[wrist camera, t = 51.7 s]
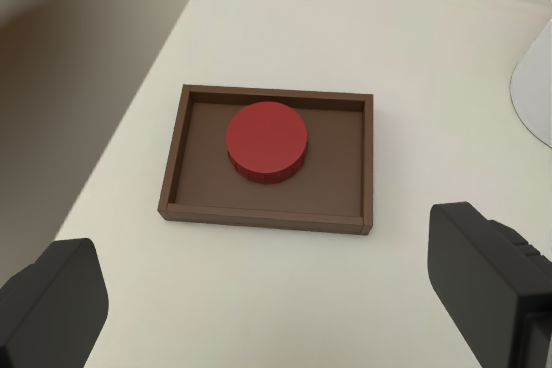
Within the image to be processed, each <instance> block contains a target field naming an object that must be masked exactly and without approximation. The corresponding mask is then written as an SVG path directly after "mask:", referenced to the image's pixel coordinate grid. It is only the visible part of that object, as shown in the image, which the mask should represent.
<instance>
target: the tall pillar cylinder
mask: <svg viewBox="0 0 552 368" xmlns="http://www.w3.org/2000/svg"><path fill="white" fill-rule="evenodd" d="M510 90H511V98H512V102H513V105H514V108H515V110H516V112H517V114H518V116H519V117H520V119H521V120H522V122H523V123H524V124H525V126H526V127H527V128H528V129H529V130H530V131H531V132H532V133H533V134H534V135H535V136H536V137H537V138H539V139H540V140H541V141H542V142H544V143H545V144H547V145H548V146H550V147H552V17H551V18H550V20H549V21H548V23H547V24H546V25H545V27H544V28H543V29H542V31H541V32H540V34H539V35H538V36H537V38H536V39H535V41H534V42H533V43H532V45H531V46H530V47H529V49H528V50H527V52H526V53H525V54H524V56H523V57H522V59H521V60H520V61H519V63H518V64H517V66H516V68H515V70H514V72H513V75H512V78H511V86H510Z"/></svg>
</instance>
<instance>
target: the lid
mask: <svg viewBox="0 0 552 368" xmlns="http://www.w3.org/2000/svg"><path fill="white" fill-rule="evenodd" d="M226 145H227V149H228V150H227V153H228V156H229V160H230V159H231V162H232V164H233V166H234V167H235V170H236V172H237V171H238V172H239V173H240V174H241V175H242V176H243V177H245V178H247V179H248V181H249V180H251V181H254V182H257V183H263V184H271V183H277V182H279V183H280V181H283V180H285V179H287V178H289V177H291V176H292V175H293V176H294V174H295V173H296V172H297V171H298V170H299V168H300V167H301V166H302V164H304V159H305V157H306V151H308V141H307V130H306V126H305V123H304V121H303V120H302V118H301V117H300V116H299V114H298V113H297V112H296V111H294V110H293V109H292V108H290V107H288V106H286V105H284V104H281V103H277V102H269V101H267V102H258V103H254V104H251V105H249V106H247V107H245V108H243V109H242V110H240V111H239V112H238V113H237V114H236V115H235V116H234V117H233V118H232V120H231V122H230V123H229V126H228V128H227V131H226Z"/></svg>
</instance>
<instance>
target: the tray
mask: <svg viewBox="0 0 552 368" xmlns="http://www.w3.org/2000/svg"><path fill="white" fill-rule="evenodd" d="M267 101H269V102H277V103H281V104H284V105H286V106H288V107H290V108H292V109H293V110H294V111H296V112H297V113H298V114H299V116H300V117H301V118H302V120H303V121H304V123H305V126H306V130H307V141H308V151H306V157H305V159H304V164H302V166H301V167H300V168H299V170H298V171H297V172H296V173H295V174H294V176H293V175H292V176H291V177H289V178H287V179H285V180H283V181H280V183H279V182H277V183H271V184H263V183H257V182H254V181H251V180H249V181H248V179H247V178H245V177H243V176H242V175H241V174H240V173H239V172H238V171H237V172H236V170H235V167H234V166H233V164H232V162H231V159H230V160H229V156H228V153H227V150H228V149H227V145H226V131H227V128H228V126H229V123H230V122H231V120H232V118H233V117H234V116H235V115H236V114H237V113H238V112H239V111H240V110H242V109H243V108H245V107H247V106H249V105H251V104H254V103H258V102H267ZM157 211H158V212H159V213H160V214H161V216H162V217H163V218H164V219H165V220H171V221H184V222H197V223H211V224H224V225H238V226H251V227H265V228H278V229H291V230H305V231H318V232H332V233H345V234H359V235H368V234H369V232H370V230H371V228H372V226H373V94H355V93H336V92H317V91H298V90H279V89H260V88H241V87H222V86H203V85H185V84H183V88H182V93H181V98H180V102H179V107H178V112H177V117H176V122H175V127H174V132H173V137H172V141H171V146H170V151H169V156H168V161H167V166H166V171H165V176H164V180H163V185H162V190H161V195H160V200H159V205H158V210H157Z"/></svg>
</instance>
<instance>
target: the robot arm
mask: <svg viewBox="0 0 552 368" xmlns="http://www.w3.org/2000/svg"><path fill="white" fill-rule="evenodd" d="M428 274H429V278H430V282H431V285H432V287H433V289H434V291H435V292H436V294H437V295H438V297H439V299H440V300H441V302H442V304H443V305H444V307H445V308H446V310H447V312H448V313H449V315H450V316H451V318H452V320H453V321H454V323H455V324H456V326H457V328H458V329H459V331H460V333H461V334H462V336H463V337H464V339H465V341H466V342H467V344H468V345H469V347H470V349H471V350H472V352H473V353H474V355H475V357H476V358H477V360H478V362H479V363H480V365H481V366H482V368H552V262H550V261H549V260H548V259H547V258H546V257H545V256H544V255H542V256H541V255H540V252H539V251H538V250H537V249H536V248H534V247H533V246H532V245H529V244H528V241H526V240H525V239H524V238H523V237H522V236H521V235H520V234H518V233H517V232H516V231H515V230H514V229H512V228H509V227H507V226H505V225H503V224H501V223H499V222H496V221H494V220H487V219H486V218H485V217H484V216H482V215H481V214H480V213H479V212H478V211H477V210H476V209H475V208H474V207H473V206H472V205H471V204H470V203H468V202H457V203H446V204H435V205H433V206H432V208H431V211H430V222H429V242H428ZM108 307H109V301H108V294H107V290H106V286H105V282H104V279H103V275H102V271H101V268H100V264H99V260H98V257H97V253H96V249H95V246H94V244H93V242H92V241H91V240H90V239H89V238H80V239H70V240H59V241H54V242H52V243H51V244H50V245H49V247H48V248H47V249H46V250H45V251H44V252H43V254H42V255H41V256H40V257H39V258H38V259H37V260H36V262H35V263H34V264H31V265H29V266H28V267H26V268H25V269H23V270H22V271H20V272H18V273H17V274H16V275H14V276H12V277H11V278H10V279H9V280H8V281H7V282H6V283H5V284H4V286H3V287H2V288H1V289H0V368H83V367H84V365H85V363H86V361H87V359H88V357H89V355H90V353H91V351H92V349H93V346H94V344H95V342H96V340H97V338H98V336H99V334H100V332H101V330H102V328H103V326H104V324H105V321H106V319H107V315H108Z"/></svg>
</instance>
